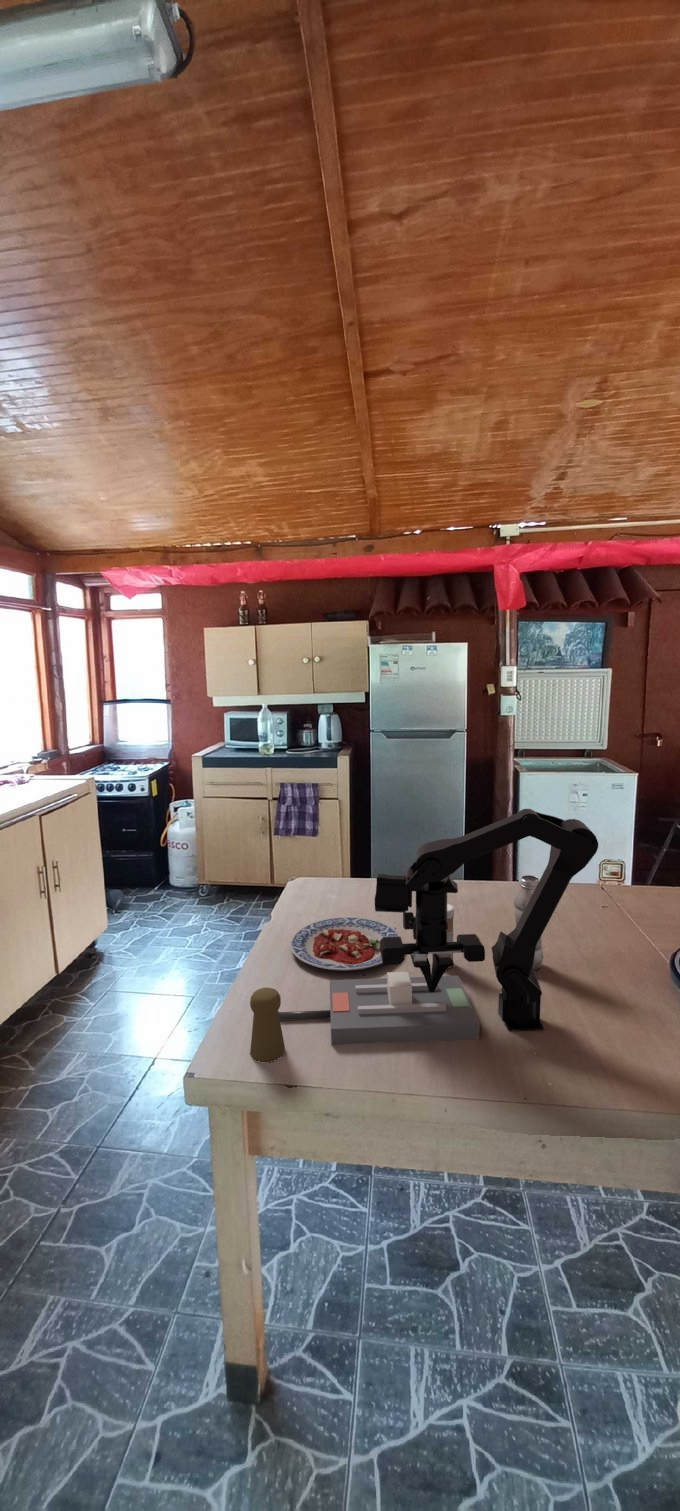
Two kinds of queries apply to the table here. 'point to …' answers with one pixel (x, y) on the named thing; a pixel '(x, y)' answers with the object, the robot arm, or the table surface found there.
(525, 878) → the plastic bottle
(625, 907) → the table surface
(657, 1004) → the table surface
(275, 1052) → the olive peg pawn
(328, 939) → the ceramic plate
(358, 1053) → the table surface
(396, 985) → the switch knob
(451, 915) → the sprinkles bottle
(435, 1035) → the slider switch base
